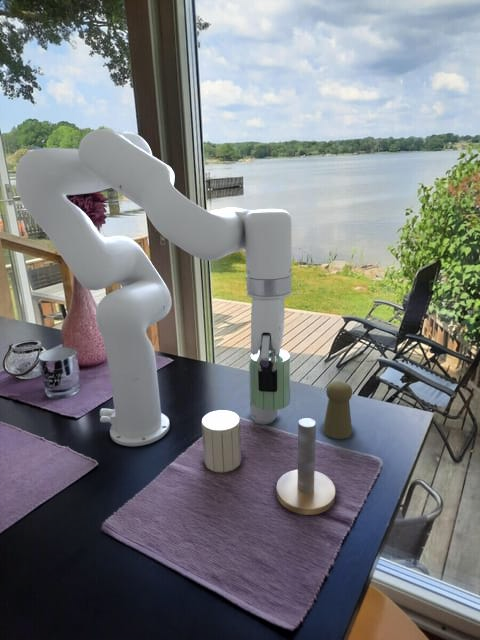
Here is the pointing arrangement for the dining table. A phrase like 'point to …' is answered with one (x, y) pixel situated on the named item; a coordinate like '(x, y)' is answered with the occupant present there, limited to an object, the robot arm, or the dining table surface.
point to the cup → (221, 440)
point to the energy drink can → (260, 411)
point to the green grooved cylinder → (283, 383)
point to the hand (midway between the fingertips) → (270, 380)
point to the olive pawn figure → (338, 410)
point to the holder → (306, 478)
